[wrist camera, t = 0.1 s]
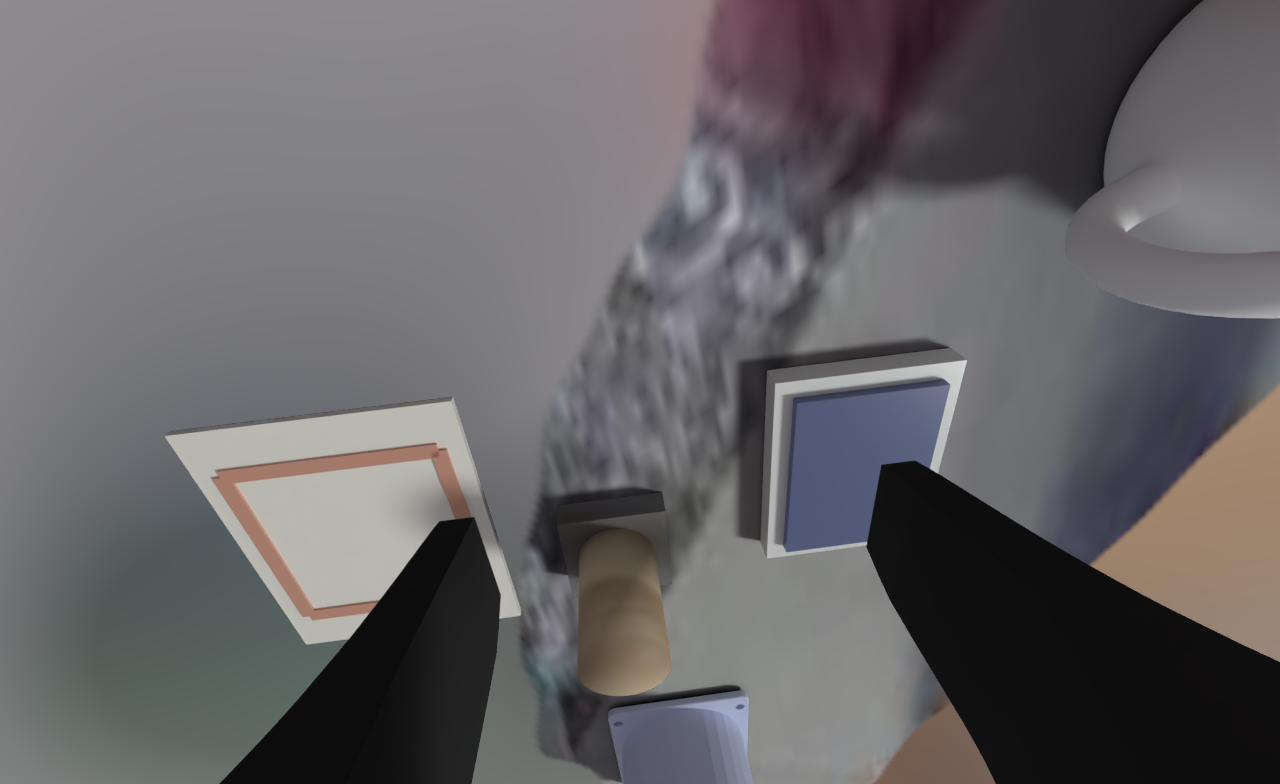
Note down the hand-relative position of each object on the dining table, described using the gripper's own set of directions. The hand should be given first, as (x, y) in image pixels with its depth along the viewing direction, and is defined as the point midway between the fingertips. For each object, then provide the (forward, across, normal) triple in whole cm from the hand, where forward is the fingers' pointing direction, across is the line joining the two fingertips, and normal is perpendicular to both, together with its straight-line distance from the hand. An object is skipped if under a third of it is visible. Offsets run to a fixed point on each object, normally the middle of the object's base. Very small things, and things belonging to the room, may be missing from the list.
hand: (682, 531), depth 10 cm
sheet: (+10, +12, +8) cm, 18 cm away
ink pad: (+10, -8, +7) cm, 15 cm away
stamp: (+10, +2, +10) cm, 15 cm away
